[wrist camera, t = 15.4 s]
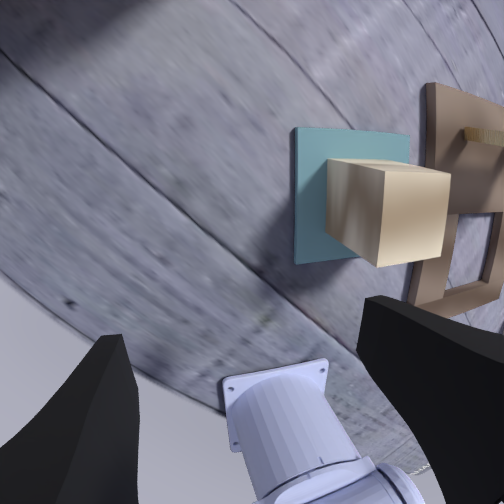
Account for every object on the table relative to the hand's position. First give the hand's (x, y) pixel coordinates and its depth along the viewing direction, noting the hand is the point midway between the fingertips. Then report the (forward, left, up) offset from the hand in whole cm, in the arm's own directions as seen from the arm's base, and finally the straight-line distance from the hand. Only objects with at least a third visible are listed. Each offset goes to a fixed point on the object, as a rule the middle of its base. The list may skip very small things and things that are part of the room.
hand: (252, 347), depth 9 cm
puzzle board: (0, -22, -10) cm, 24 cm away
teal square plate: (+2, -9, -10) cm, 14 cm away
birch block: (+2, -9, -10) cm, 13 cm away
